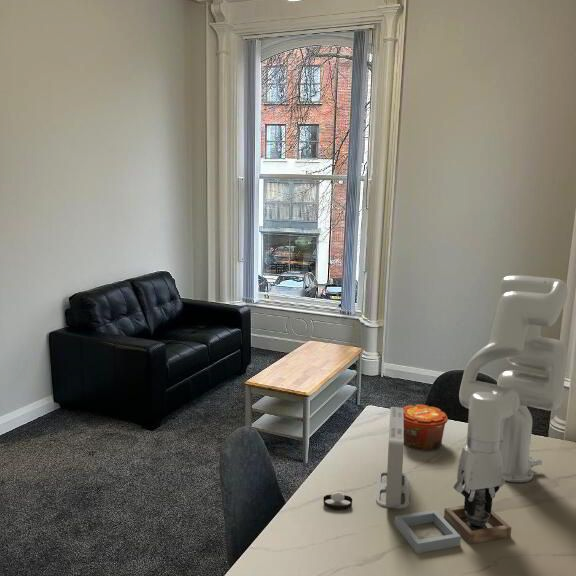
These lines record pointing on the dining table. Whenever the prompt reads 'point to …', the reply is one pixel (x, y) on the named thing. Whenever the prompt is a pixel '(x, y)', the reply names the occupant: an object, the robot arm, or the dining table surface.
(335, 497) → the watch
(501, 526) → the walnut collar
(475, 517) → the marbled chess piece
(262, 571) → the dining table surface
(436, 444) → the food container
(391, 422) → the network device
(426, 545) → the slate-grey collar
